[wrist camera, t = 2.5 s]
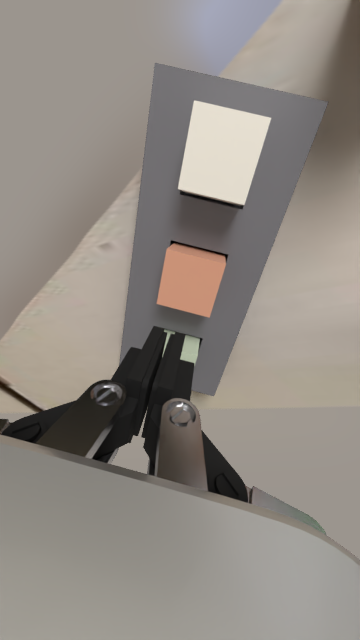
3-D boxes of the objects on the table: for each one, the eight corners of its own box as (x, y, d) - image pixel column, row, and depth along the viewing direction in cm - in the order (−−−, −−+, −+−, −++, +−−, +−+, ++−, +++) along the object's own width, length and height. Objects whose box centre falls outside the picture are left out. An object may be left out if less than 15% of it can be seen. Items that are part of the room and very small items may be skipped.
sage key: (200, 334, 30) (197, 355, 26) (190, 367, 33) (186, 392, 28) (159, 323, 30) (149, 342, 26) (152, 356, 33) (142, 380, 28)
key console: (310, 119, 21) (328, 101, 18) (214, 377, 36) (213, 396, 32) (165, 86, 22) (155, 62, 18) (128, 354, 36) (118, 370, 33)
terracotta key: (224, 254, 25) (226, 264, 21) (210, 300, 28) (209, 317, 23) (175, 241, 26) (166, 249, 21) (166, 288, 28) (156, 303, 24)
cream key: (259, 137, 21) (271, 117, 16) (239, 205, 23) (244, 205, 19) (199, 123, 21) (194, 100, 16) (185, 192, 23) (177, 189, 19)
